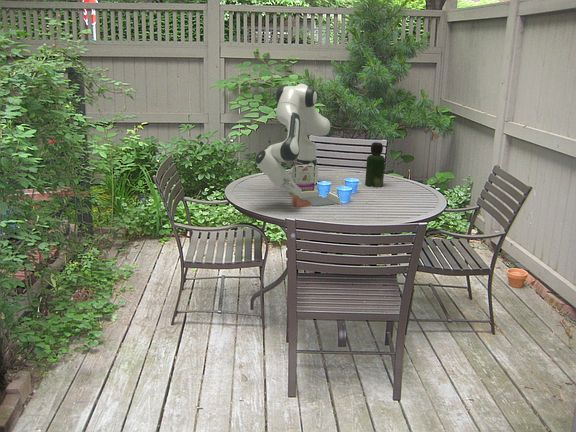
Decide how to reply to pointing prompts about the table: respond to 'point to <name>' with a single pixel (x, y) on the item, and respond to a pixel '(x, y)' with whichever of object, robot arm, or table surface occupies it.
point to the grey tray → (316, 194)
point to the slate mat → (319, 201)
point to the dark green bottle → (375, 166)
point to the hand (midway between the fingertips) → (297, 195)
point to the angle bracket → (299, 202)
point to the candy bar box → (304, 176)
